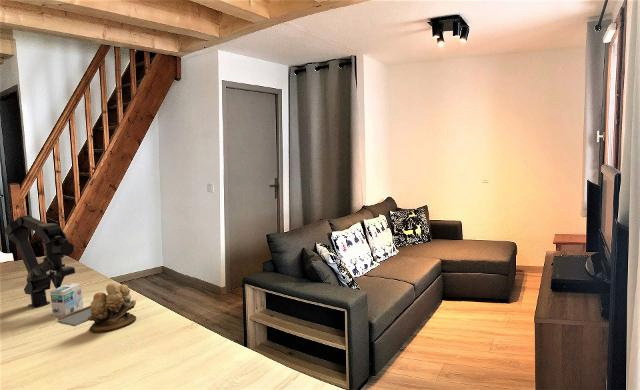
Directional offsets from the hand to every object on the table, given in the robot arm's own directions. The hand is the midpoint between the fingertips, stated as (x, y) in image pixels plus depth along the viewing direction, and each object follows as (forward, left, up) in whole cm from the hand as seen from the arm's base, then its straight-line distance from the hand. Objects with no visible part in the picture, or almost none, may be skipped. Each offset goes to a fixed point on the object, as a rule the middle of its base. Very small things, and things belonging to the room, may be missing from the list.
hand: (57, 289), depth 192 cm
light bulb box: (+6, 0, -9) cm, 11 cm away
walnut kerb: (+12, 0, -9) cm, 15 cm away
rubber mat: (+18, 0, -9) cm, 20 cm away
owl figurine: (+38, -2, -9) cm, 39 cm away
